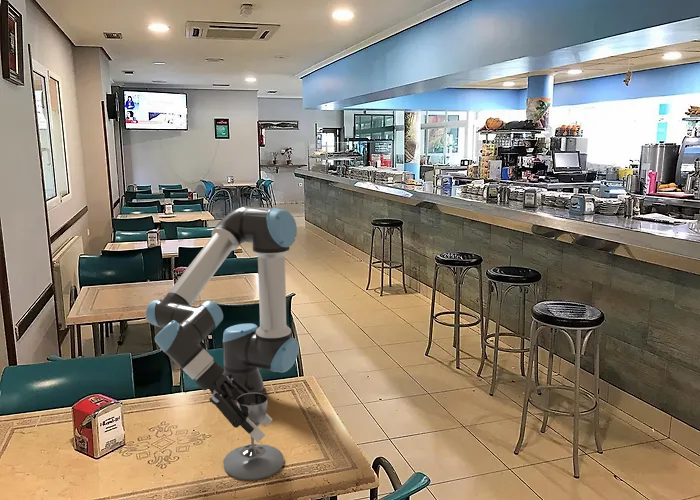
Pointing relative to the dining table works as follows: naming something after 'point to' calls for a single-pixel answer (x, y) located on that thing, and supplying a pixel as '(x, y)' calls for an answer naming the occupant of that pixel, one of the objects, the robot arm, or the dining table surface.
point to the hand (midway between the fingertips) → (265, 430)
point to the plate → (253, 464)
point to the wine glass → (253, 419)
